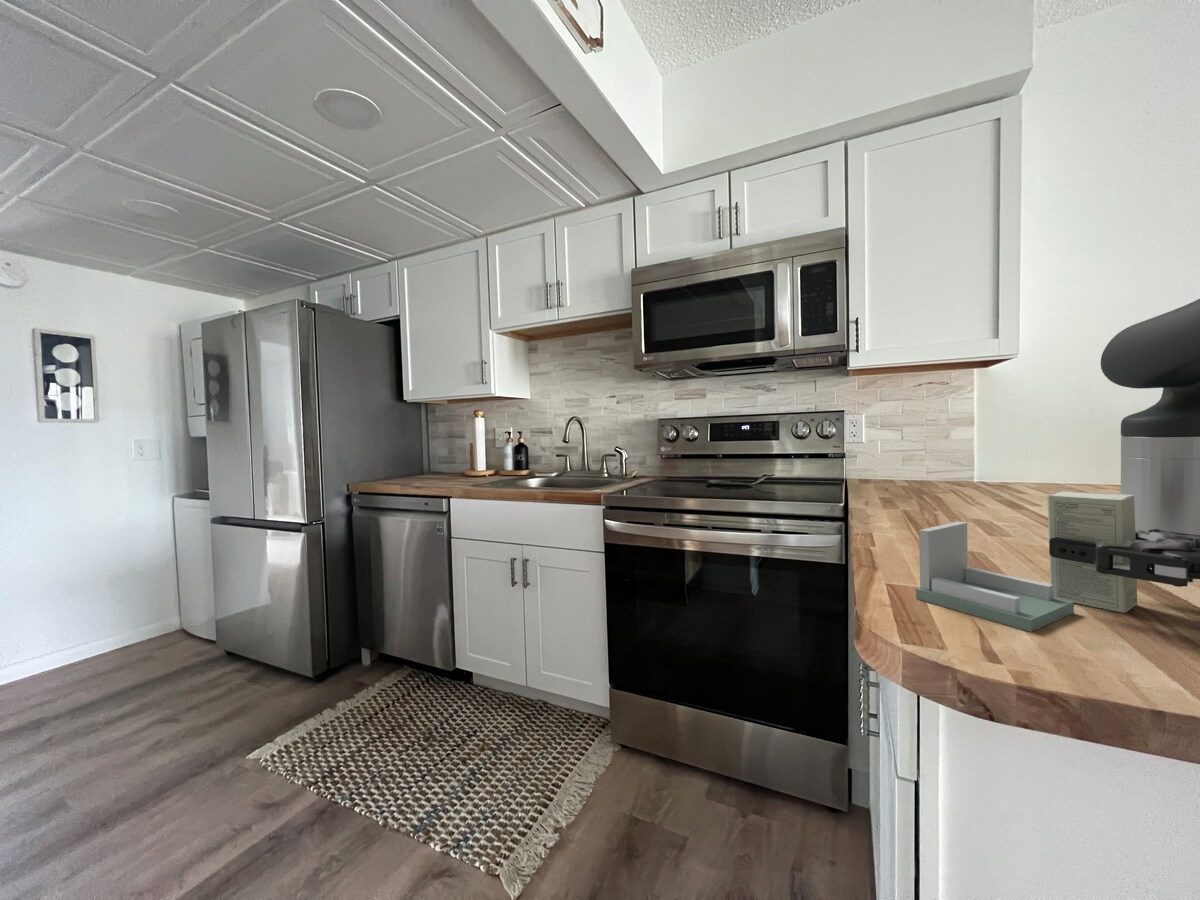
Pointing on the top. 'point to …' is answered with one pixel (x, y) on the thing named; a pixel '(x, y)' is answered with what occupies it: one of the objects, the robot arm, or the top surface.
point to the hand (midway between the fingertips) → (1069, 541)
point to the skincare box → (1094, 523)
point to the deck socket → (981, 584)
